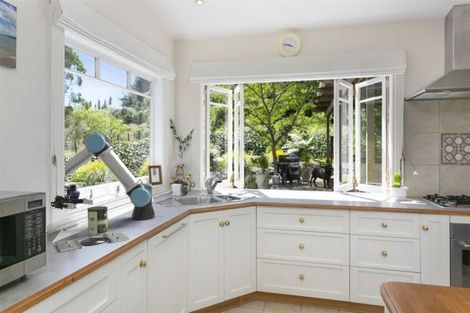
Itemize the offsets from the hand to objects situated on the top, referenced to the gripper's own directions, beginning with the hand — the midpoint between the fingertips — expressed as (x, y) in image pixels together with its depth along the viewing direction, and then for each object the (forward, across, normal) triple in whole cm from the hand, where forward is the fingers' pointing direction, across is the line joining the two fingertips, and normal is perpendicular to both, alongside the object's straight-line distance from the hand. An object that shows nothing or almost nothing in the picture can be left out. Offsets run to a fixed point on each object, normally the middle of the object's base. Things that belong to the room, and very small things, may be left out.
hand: (83, 204), depth 177 cm
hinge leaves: (+20, +13, -15) cm, 29 cm away
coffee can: (+10, 0, -16) cm, 19 cm away
